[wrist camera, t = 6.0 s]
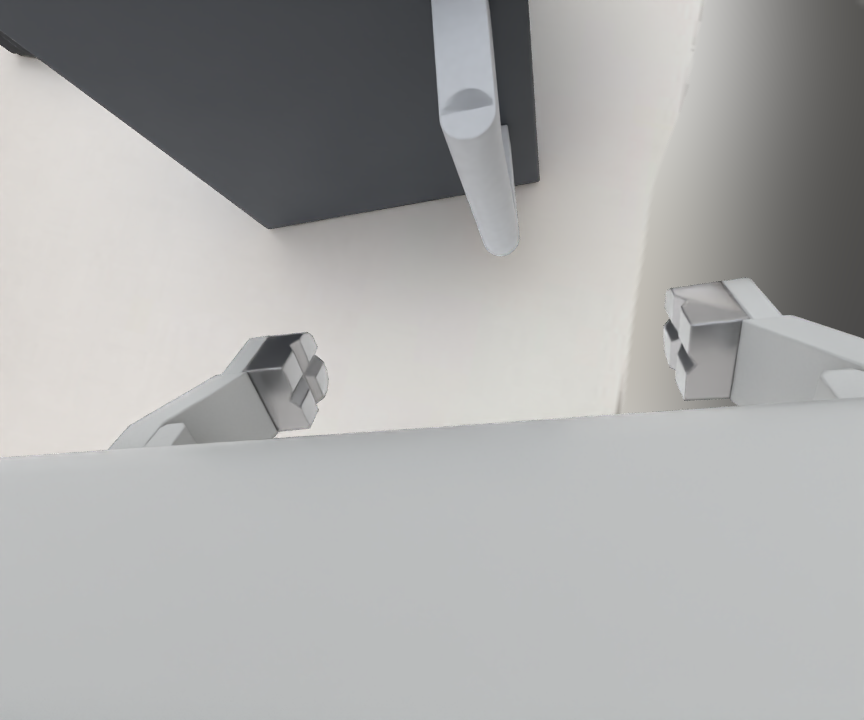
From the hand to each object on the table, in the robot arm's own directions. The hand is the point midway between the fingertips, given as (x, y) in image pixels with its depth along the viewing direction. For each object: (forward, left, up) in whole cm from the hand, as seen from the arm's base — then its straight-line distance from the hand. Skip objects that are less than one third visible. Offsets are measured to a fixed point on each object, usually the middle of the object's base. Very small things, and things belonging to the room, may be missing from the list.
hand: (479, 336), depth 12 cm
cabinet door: (+4, +10, -14) cm, 18 cm away
